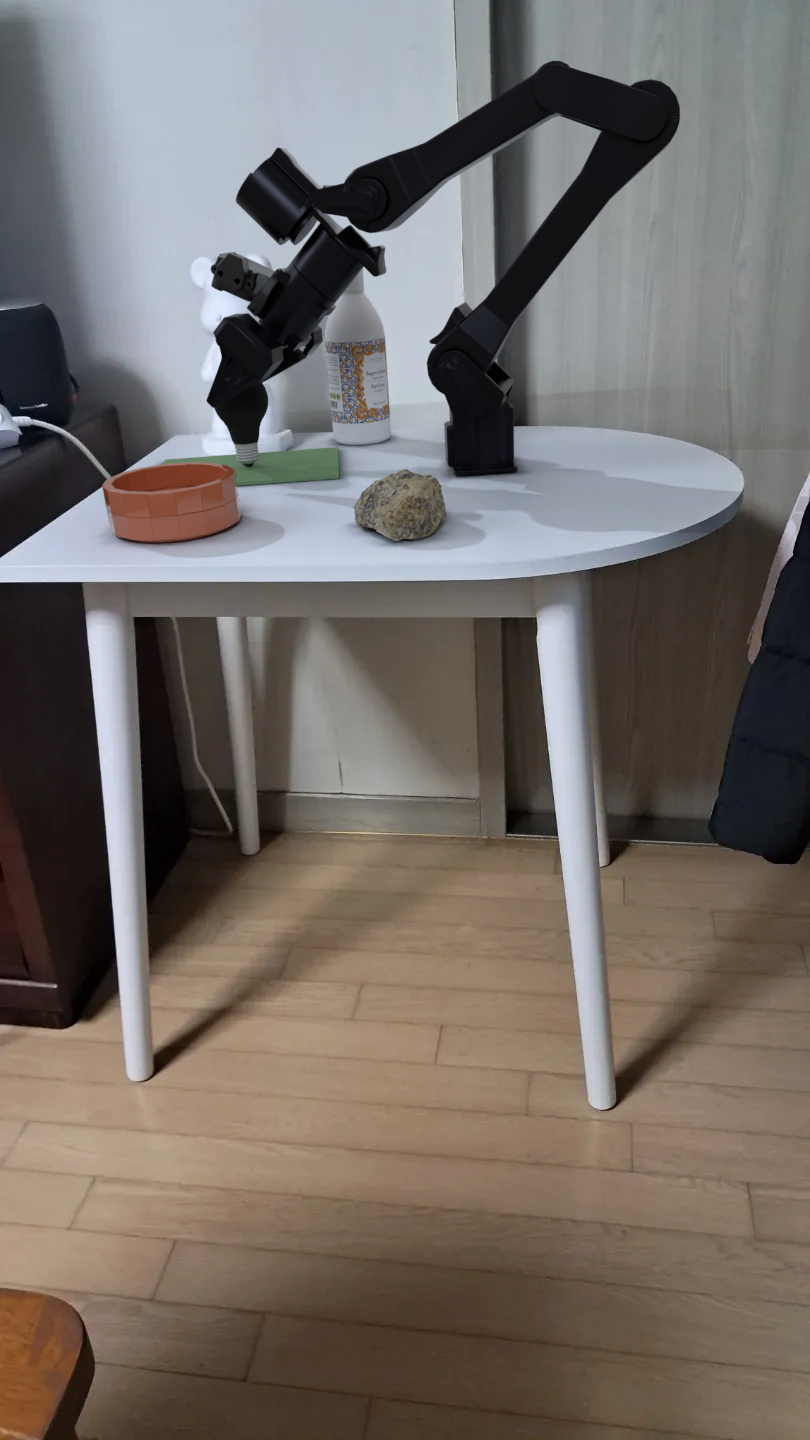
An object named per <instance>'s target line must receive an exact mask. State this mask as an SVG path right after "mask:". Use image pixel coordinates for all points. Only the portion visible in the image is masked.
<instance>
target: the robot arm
mask: <svg viewBox="0 0 810 1440" xmlns="http://www.w3.org/2000/svg"><path fill="white" fill-rule="evenodd" d="M680 108H681V106H680V103H679V100H678V96H677V95H676V94H675V92H674V91H673V89H672V88H671V87H670V86H669V85H667V84H666V83H664V82H662V80H656V79H651V78H649V79H644V80H643V79H642V80H638V81H636V82H634V83H633V84H630V85H629V84H625V83H622V82H619V81H617V80H613V79H610V78H607V77H604V76H600V75H598V74H594V73H590V72H587V71H583V70H580V69H577V68H573V67H571V66H570V65H569V64H568V63H566V62H564V61H562V60H550V61H548V62H546V63H543V64H542V65H541V66H539V68H538V69H537V70H536V71H535V72H534V73H533V74H531V75H530V76H528V77H527V78H525V79H524V80H522V81H521V82H519V83H518V84H516V85H514V86H512V87H511V88H509V89H508V90H506V91H504V92H503V93H502V94H499V95H498V96H497V97H495V98H493V99H492V100H490V101H489V102H487V103H485V104H484V105H483V106H481V107H479V108H477V109H476V110H475V111H473V112H471V113H469V114H468V115H466V116H465V117H464V118H462V119H460V120H459V121H457V122H455V123H453V124H452V125H451V126H449V127H447V128H446V129H444V130H443V131H441V132H439V133H438V134H436V135H435V136H433V137H431V138H429V139H428V140H427V141H425V142H423V143H420V144H417V145H415V146H413V147H410V148H406V149H404V150H400V151H397V152H395V153H391V154H388V155H385V156H383V157H380V158H378V159H376V160H372V161H371V162H368V163H366V164H362V165H360V166H358V167H356V168H355V169H353V170H352V171H351V172H350V173H348V175H347V177H346V178H345V180H344V182H343V183H338V184H323V186H321V185H320V184H319V183H318V182H317V181H316V180H315V179H314V178H313V177H312V176H310V174H309V173H308V172H306V170H305V169H304V168H303V167H302V166H301V165H300V164H299V162H298V161H297V159H296V157H295V156H294V155H293V154H292V153H291V152H290V150H288V149H287V148H285V147H276V149H274V151H273V153H272V154H271V156H269V157H267V158H266V159H265V160H263V162H261V163H260V164H259V165H258V166H257V168H255V170H254V171H253V172H249V174H248V175H247V176H246V178H245V179H244V181H243V182H242V184H241V185H240V187H239V189H238V191H237V195H236V197H235V203H236V205H238V206H239V207H240V208H241V209H242V210H243V211H244V212H245V213H246V214H247V215H248V216H249V217H250V218H251V219H252V220H253V221H254V222H255V223H256V224H257V225H258V226H259V227H260V228H261V229H262V230H264V232H265V233H267V235H268V236H269V237H271V239H272V240H273V241H275V242H276V244H278V245H279V246H283V245H285V244H286V243H287V242H290V243H291V244H292V245H293V246H297V245H298V244H300V243H301V242H302V241H303V240H304V239H305V238H306V237H307V236H308V235H309V233H310V232H311V231H312V230H313V228H314V227H315V226H316V224H317V222H319V223H318V225H317V226H316V228H315V229H314V230H313V232H312V233H311V234H310V236H309V237H308V238H307V240H306V241H305V242H304V244H303V245H302V247H301V248H300V249H299V250H298V251H297V253H296V255H295V256H294V258H293V259H292V260H291V261H290V263H289V264H288V265H287V266H286V267H282V268H281V267H280V268H277V269H276V270H273V269H271V268H270V267H268V266H265V265H264V264H261V263H259V262H256V261H255V260H252V259H250V258H249V257H246V256H244V255H242V254H239V253H237V252H235V251H230V252H224V253H219V254H218V256H217V258H216V261H215V263H214V264H212V265H211V266H210V272H211V274H213V277H212V280H211V285H210V286H211V287H212V288H213V289H215V290H216V291H219V292H223V291H224V292H225V293H228V294H230V295H232V296H234V297H237V298H239V299H240V300H241V299H242V300H244V301H246V302H248V305H247V306H246V310H248V311H249V312H250V313H251V314H252V315H253V316H254V317H257V318H258V319H259V320H258V321H257V320H256V318H254V317H253V316H252V315H251V314H250V313H249V312H247V313H245V312H244V313H234V314H231V315H228V316H224V317H223V318H222V319H221V321H220V322H219V323H218V325H217V326H216V327H215V329H214V330H213V332H212V333H213V335H214V337H215V343H216V345H217V346H218V349H219V351H220V355H221V358H220V362H219V365H218V368H217V371H216V374H215V376H214V379H213V381H212V383H211V384H212V385H211V387H210V390H209V392H208V395H207V398H206V403H207V404H208V405H209V406H210V407H211V408H213V409H214V408H216V407H217V406H219V405H221V404H223V403H224V402H226V401H228V400H230V399H231V398H233V397H235V396H237V395H238V394H240V393H242V392H243V391H245V390H247V389H249V388H250V387H252V386H254V385H256V384H257V383H259V382H262V383H263V384H264V383H265V382H267V381H269V380H270V379H272V378H274V377H275V376H278V375H279V374H281V373H283V372H285V371H286V370H288V369H290V368H292V367H294V366H295V365H297V364H299V363H300V362H302V361H305V360H306V359H307V358H308V357H309V356H311V355H313V354H314V353H315V352H316V350H317V349H318V348H319V346H320V345H321V344H322V343H323V341H324V338H323V337H324V336H323V329H322V327H321V326H320V325H319V324H320V323H321V322H322V321H323V320H324V318H325V317H326V316H329V315H330V314H331V313H332V312H333V311H334V309H335V308H336V307H337V306H336V305H335V303H336V302H337V300H338V299H339V298H340V296H341V295H342V294H343V293H344V291H345V290H346V289H347V288H348V286H349V285H350V284H351V282H352V281H353V280H354V279H355V277H356V276H357V275H358V274H359V272H360V271H361V270H362V268H363V269H364V268H365V270H366V271H367V272H368V273H369V274H371V276H372V277H374V278H375V277H379V276H383V275H385V274H386V273H387V266H386V265H387V264H386V259H385V254H386V253H385V252H386V249H387V247H386V246H385V244H380V245H372V244H371V243H370V242H369V241H368V240H367V239H366V238H365V237H364V236H363V235H362V234H361V233H360V232H359V231H361V232H364V233H366V234H376V233H382V232H388V231H392V230H395V229H398V228H399V227H400V226H401V225H403V224H404V223H405V222H406V221H407V220H408V219H410V218H411V217H412V216H413V215H414V214H415V213H416V212H417V211H419V210H420V209H421V208H422V207H423V206H425V204H426V203H428V201H429V200H430V199H431V198H432V197H434V195H435V194H436V193H437V192H439V190H441V189H442V188H443V186H445V185H446V184H448V182H450V181H451V180H453V179H455V178H456V177H458V176H459V175H461V174H463V173H464V172H466V171H468V170H469V169H471V168H472V167H475V166H476V165H478V164H479V163H481V162H483V161H484V160H486V159H488V158H489V157H491V156H492V155H494V154H496V153H497V152H499V151H500V150H502V149H504V148H506V147H507V146H509V145H511V144H512V143H514V142H516V141H518V140H519V139H521V138H522V137H524V136H526V135H527V134H529V133H530V132H532V131H534V130H535V129H537V128H538V127H541V126H542V125H544V124H545V123H547V122H549V121H550V120H552V119H554V118H557V117H560V118H561V117H562V118H564V119H567V120H570V121H573V122H575V123H578V124H580V125H583V126H586V127H588V128H592V129H594V130H597V131H600V132H599V134H598V137H597V138H596V141H595V143H594V144H593V146H592V149H591V150H590V153H589V155H588V157H587V158H586V161H585V162H584V165H583V166H582V168H581V170H580V172H579V173H578V175H577V176H575V177H576V178H575V179H574V180H573V181H572V183H571V184H570V185H569V187H568V188H567V189H566V191H565V192H564V193H563V195H562V196H561V197H560V198H559V200H558V201H557V203H556V204H555V205H554V207H553V208H552V209H551V211H550V212H549V213H548V215H547V216H545V219H544V220H543V221H542V223H541V224H540V225H539V227H538V228H537V229H536V231H535V232H534V233H533V235H532V236H531V237H530V239H529V240H528V241H527V243H526V244H525V245H524V247H523V248H522V249H521V251H520V252H519V253H518V254H517V256H516V257H515V258H514V260H513V261H512V262H511V264H510V265H509V267H508V268H507V269H506V270H505V272H504V273H503V275H501V277H500V279H499V280H498V281H497V282H496V284H495V285H494V287H492V289H491V291H490V292H489V293H488V294H487V295H486V297H485V299H483V300H482V301H481V302H480V303H479V304H478V305H477V306H476V307H475V308H474V309H472V308H471V306H470V305H469V304H468V302H466V301H463V302H462V303H460V304H459V305H457V306H455V307H454V308H453V309H452V311H451V313H450V315H449V317H448V319H447V321H446V323H445V325H444V327H443V329H442V330H441V331H440V332H439V333H438V334H436V335H435V336H434V337H433V338H431V339H429V344H430V345H434V346H433V347H432V348H431V350H430V352H429V355H428V356H427V359H426V360H427V361H426V369H427V376H428V378H429V382H430V383H431V385H432V386H433V387H434V388H435V390H437V391H438V392H439V393H440V394H442V395H444V397H445V400H446V402H447V405H448V412H449V415H448V416H449V421H445V422H444V423H443V426H444V429H443V431H444V451H445V453H444V454H445V462H446V465H447V466H448V467H449V468H450V469H451V470H452V472H453V475H454V476H470V475H471V476H472V475H483V474H497V473H508V472H509V473H511V472H518V469H519V467H518V464H517V463H516V461H515V417H514V416H515V407H514V406H513V405H512V404H511V403H510V402H508V401H507V400H509V397H510V395H511V391H512V388H513V386H514V382H515V380H514V378H513V377H512V376H511V375H510V374H509V373H508V372H507V371H506V370H505V369H504V368H503V367H502V366H501V365H500V364H499V363H498V362H497V359H498V357H499V355H500V354H501V351H502V350H503V348H504V346H505V344H506V342H507V341H508V340H507V339H508V338H509V336H510V334H511V333H512V330H513V328H514V326H515V324H516V323H517V321H518V319H519V318H520V316H521V315H522V314H523V312H524V311H525V310H526V309H527V307H528V306H529V305H530V304H531V302H532V301H533V299H534V298H535V297H536V296H537V294H538V293H539V292H540V291H541V289H542V288H543V286H544V285H545V284H546V282H547V281H548V280H549V279H550V278H551V276H552V275H553V274H554V273H555V271H556V270H557V269H558V267H559V266H560V265H561V264H562V263H563V261H564V260H565V258H566V257H567V256H568V255H569V253H570V252H571V251H572V250H573V248H574V247H575V246H576V244H577V243H578V241H579V240H580V239H581V238H582V237H583V235H584V234H585V233H586V232H587V230H588V229H589V228H590V226H591V225H592V224H593V222H594V221H595V220H596V219H597V217H598V216H599V215H600V213H601V212H602V211H603V210H604V208H605V207H606V205H607V204H608V203H609V202H610V200H611V199H612V198H613V197H614V196H615V195H617V194H618V193H619V192H620V191H621V190H622V189H623V188H624V187H625V186H627V184H629V183H630V182H631V181H633V179H634V178H635V177H636V176H637V175H638V174H640V173H641V172H642V171H643V170H644V169H645V168H646V167H647V166H648V165H649V164H650V163H651V162H652V161H653V160H655V159H656V158H657V157H658V156H659V155H660V154H661V153H662V152H663V151H665V149H666V148H667V147H669V145H670V143H672V140H673V139H674V137H675V135H676V133H677V131H678V128H679V125H680V120H681V109H680ZM331 215H332V216H338V217H343V218H347V220H348V221H349V223H350V225H347V226H346V227H342V226H341V225H340V224H339V223H338V222H337V221H335V220H334V218H333V217H332V216H331ZM358 230H359V231H358ZM303 347H304V348H303ZM301 348H303V350H302V349H301Z"/></svg>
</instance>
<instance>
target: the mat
mask: <svg viewBox="0 0 810 1440" xmlns="http://www.w3.org/2000/svg"><path fill="white" fill-rule="evenodd" d="M258 453H259V455H258V456H259V458H258V460H257V461H256V462H255V463H254V464H253V465H252V466H251V467H246V466H244V465H243V464H242V463H240V462H239V461H237V459H238V458H236V456H237V455H236V453H235V454H224V455H221V454H220V455H210V456H194V457H193V456H192V457H180V458H166V459H164V460H163V462H162V464H172V463H185V462H207V463H217V464H223V465H228V466H229V467H231V468H233V469H235V471H236V478H237V486H238V487H242V486H253V485H255V486H257V485H269V484H283V483H294V482H295V483H296V482H309V481H324V480H339V479H340V462H339V461H340V460H339V447H338V446H332V447H320V448H318V447H317V448H306V449H293V450H292V449H290V450H280V451H279V450H277V451H265V452H258Z"/></svg>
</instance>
